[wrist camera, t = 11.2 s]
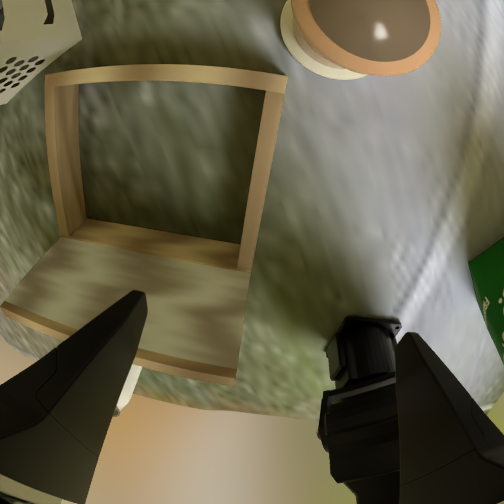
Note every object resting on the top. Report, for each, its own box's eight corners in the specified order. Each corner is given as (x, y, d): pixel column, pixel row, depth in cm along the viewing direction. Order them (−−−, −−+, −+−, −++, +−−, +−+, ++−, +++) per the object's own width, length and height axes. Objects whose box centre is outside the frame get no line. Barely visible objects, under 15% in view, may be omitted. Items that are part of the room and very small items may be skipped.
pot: (393, 4, 11) (448, -20, 5) (377, 86, 15) (428, 98, 9) (295, -24, 11) (303, -72, 5) (279, 60, 15) (279, 52, 9)
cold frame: (286, 76, 16) (298, 79, 6) (252, 257, 24) (233, 386, 14) (70, 70, 15) (-55, 105, 6) (80, 226, 24) (4, 315, 14)
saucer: (396, 3, 12) (399, 1, 11) (378, 92, 16) (381, 93, 15) (289, -27, 11) (289, -30, 11) (271, 66, 15) (271, 65, 15)
